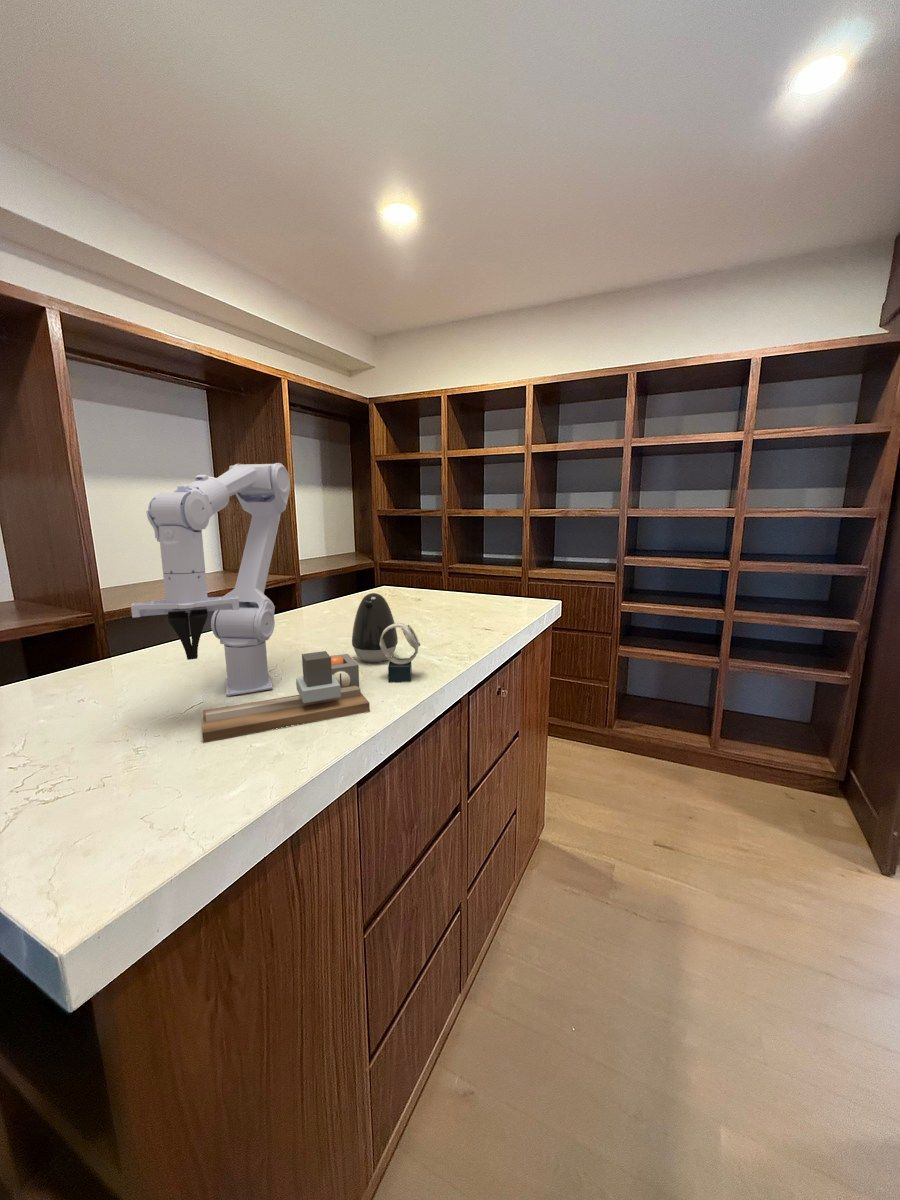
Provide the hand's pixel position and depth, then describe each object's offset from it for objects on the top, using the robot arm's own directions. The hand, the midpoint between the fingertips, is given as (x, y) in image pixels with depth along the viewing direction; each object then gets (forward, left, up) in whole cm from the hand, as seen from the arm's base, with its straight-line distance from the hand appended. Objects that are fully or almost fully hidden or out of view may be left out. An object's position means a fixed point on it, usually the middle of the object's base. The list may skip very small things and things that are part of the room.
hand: (192, 657), depth 76 cm
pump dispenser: (-18, +35, -11) cm, 41 cm away
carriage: (+5, +18, -7) cm, 20 cm away
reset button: (-5, +23, -7) cm, 25 cm away
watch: (-4, +36, -11) cm, 38 cm away
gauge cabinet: (-5, +23, -10) cm, 26 cm away
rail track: (+5, +13, -10) cm, 17 cm away
